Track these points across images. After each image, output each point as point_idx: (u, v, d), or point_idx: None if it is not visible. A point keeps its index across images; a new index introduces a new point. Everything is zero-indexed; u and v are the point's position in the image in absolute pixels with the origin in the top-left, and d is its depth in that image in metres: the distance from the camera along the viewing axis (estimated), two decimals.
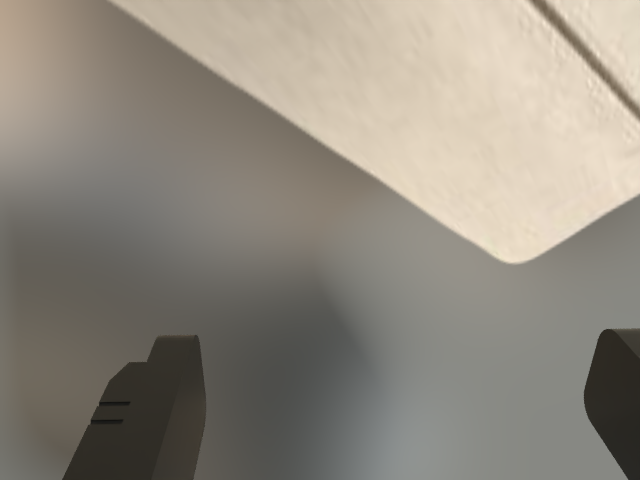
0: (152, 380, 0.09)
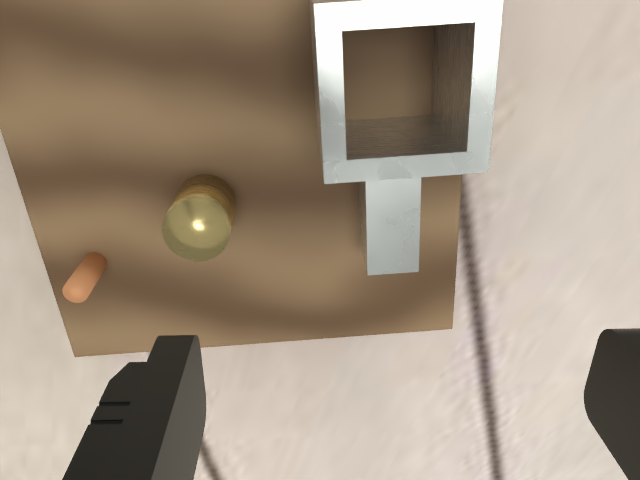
0: (152, 380, 0.09)
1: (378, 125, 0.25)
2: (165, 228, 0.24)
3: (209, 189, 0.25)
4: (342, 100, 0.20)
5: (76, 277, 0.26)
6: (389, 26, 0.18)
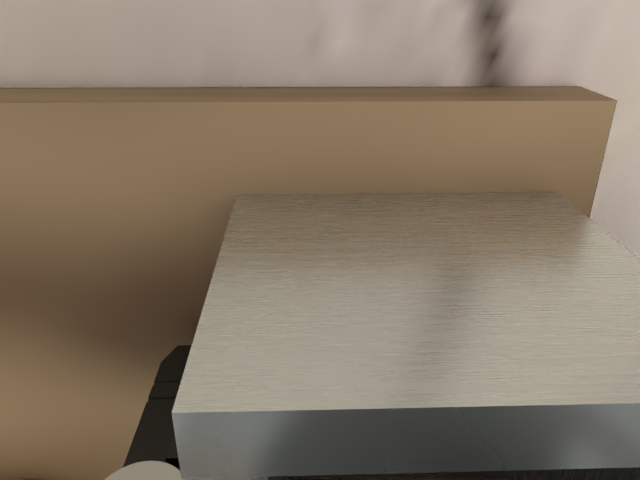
0: None
1: None
2: None
3: None
4: None
5: None
6: (422, 467, 0.06)
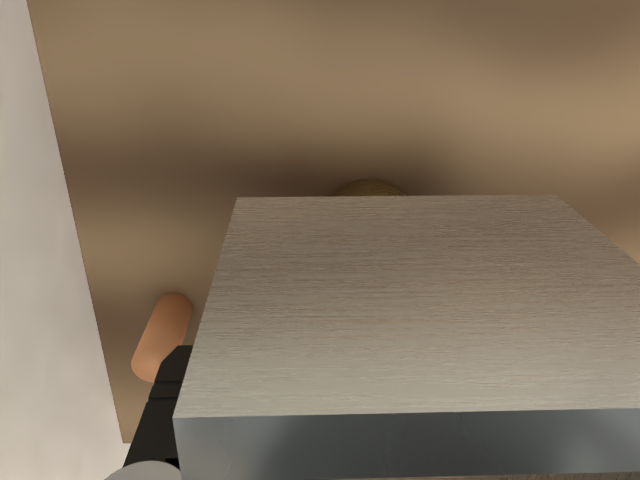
0: None
1: None
2: None
3: None
4: None
5: (155, 340, 0.15)
6: (421, 471, 0.06)
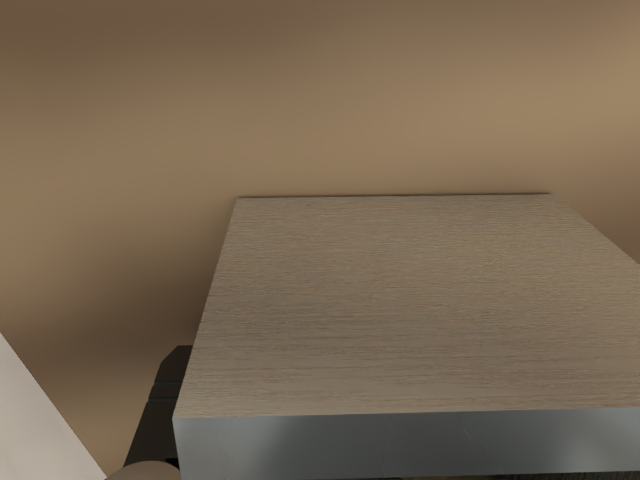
0: None
1: None
2: None
3: None
4: None
5: None
6: (420, 471, 0.06)
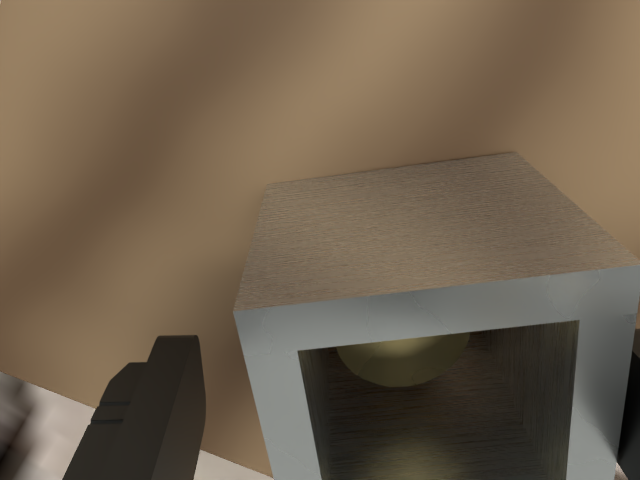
0: (152, 380, 0.09)
1: None
2: (360, 370, 0.12)
3: None
4: (312, 453, 0.10)
5: None
6: (395, 336, 0.09)
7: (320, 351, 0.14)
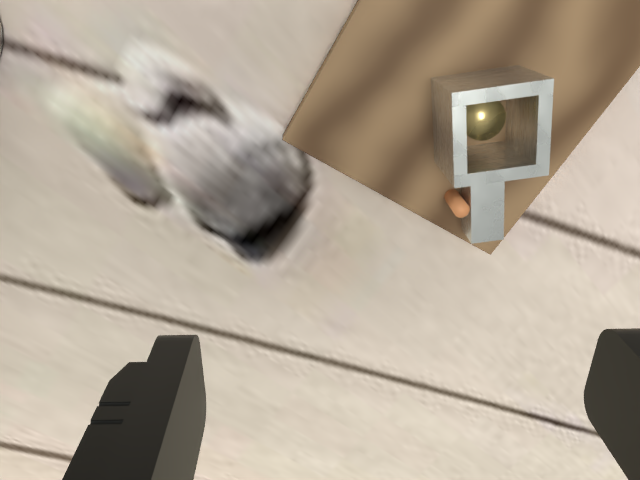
0: (152, 380, 0.09)
1: (475, 150, 0.40)
2: (469, 133, 0.38)
3: None
4: (465, 141, 0.35)
5: (454, 204, 0.41)
6: (491, 100, 0.34)
7: None
